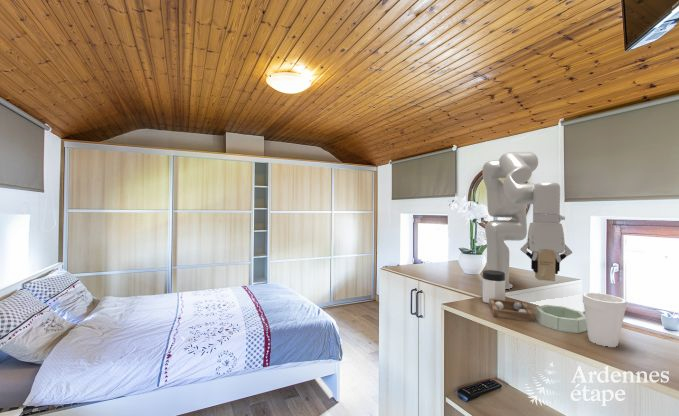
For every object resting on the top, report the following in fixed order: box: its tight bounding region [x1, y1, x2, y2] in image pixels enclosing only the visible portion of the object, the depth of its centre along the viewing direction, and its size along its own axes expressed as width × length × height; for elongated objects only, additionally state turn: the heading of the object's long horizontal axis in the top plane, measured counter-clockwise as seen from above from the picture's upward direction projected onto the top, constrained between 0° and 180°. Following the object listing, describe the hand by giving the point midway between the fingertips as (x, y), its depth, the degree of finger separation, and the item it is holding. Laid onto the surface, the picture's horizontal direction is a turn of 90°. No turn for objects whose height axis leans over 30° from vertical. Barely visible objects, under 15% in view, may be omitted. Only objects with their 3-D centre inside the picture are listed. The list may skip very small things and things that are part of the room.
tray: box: [488, 299, 535, 322], centre depth 110 cm, size 13×12×2 cm
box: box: [534, 249, 556, 282], centre depth 102 cm, size 5×4×11 cm
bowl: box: [535, 304, 588, 334], centre depth 100 cm, size 13×13×4 cm
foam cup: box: [582, 292, 627, 348], centre depth 87 cm, size 10×9×13 cm
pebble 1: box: [495, 302, 504, 310], centre depth 113 cm, size 3×3×3 cm
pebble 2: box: [513, 301, 523, 311], centre depth 112 cm, size 3×3×3 cm
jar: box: [481, 269, 506, 304], centre depth 122 cm, size 9×8×12 cm
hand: (545, 271), depth 103 cm, fingers closed on box, 5 cm apart
